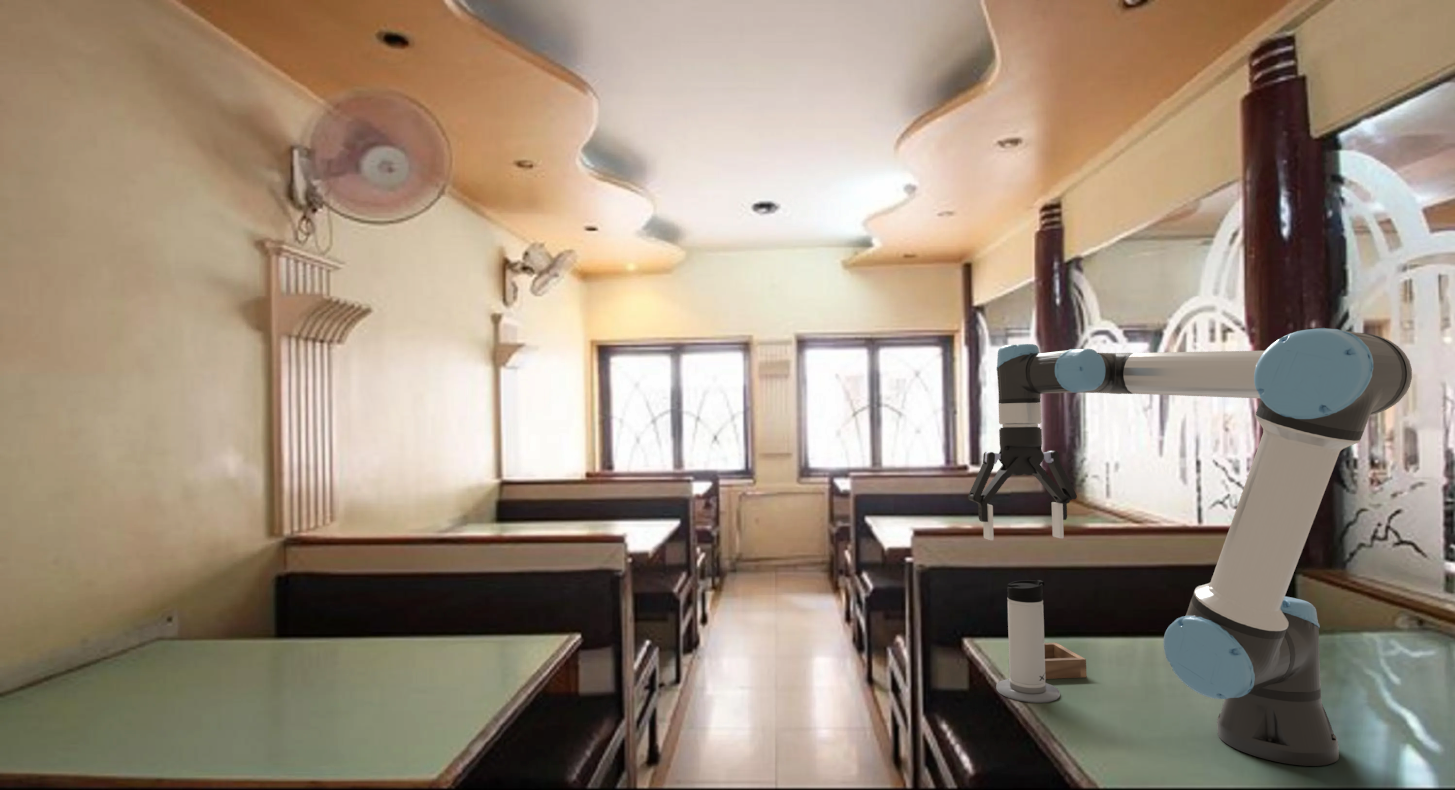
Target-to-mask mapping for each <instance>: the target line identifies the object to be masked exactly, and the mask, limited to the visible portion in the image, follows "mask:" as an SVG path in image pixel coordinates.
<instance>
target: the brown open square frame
mask: <svg viewBox="0 0 1455 790" xmlns="http://www.w3.org/2000/svg"><path fill="white" fill-rule="evenodd" d="M1044 645H1045V678H1046V680H1051V679H1052V680H1053V679H1076V678H1077V679H1078V678H1079V679H1081V678H1088V677H1087V675H1088V673H1087V659H1086V657H1085V658H1084V657H1082V656H1081V655H1079V654H1077V653H1076V652H1073V651H1072V650H1070V649H1068V648H1067V647H1065V646H1063V645H1061V644H1060V643H1058V642H1044Z"/></svg>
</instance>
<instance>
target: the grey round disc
mask: <svg viewBox="0 0 1455 790" xmlns="http://www.w3.org/2000/svg"><path fill="white" fill-rule="evenodd" d="M995 687H996V691H997V693H999V694H1000V695H1001V696H1003V697H1006V698H1008V699H1010V700H1011V699H1012V700H1014V701H1018V702H1024V703H1036V704H1037V703H1039V704H1040V703H1041V704H1042V703H1051V702H1054V701H1057V700H1059V698H1060V694H1061V692H1060V690H1059V688H1057V687H1056V686H1054V685H1052V684H1050V683H1047V682H1046V690H1045V692H1043V693H1040V694H1026V693H1021V692H1017V691H1015V690H1013V689H1012V688H1011V687H1010V678H1006V679H1002V680H999V681H997V683H996V686H995Z"/></svg>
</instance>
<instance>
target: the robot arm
mask: <svg viewBox="0 0 1455 790" xmlns="http://www.w3.org/2000/svg"><path fill="white" fill-rule="evenodd" d="M996 361H997V363H996V364H997V365H996V373H997V374H996V375H997V386H998V387H997V389H998V424H999V425H1002V427H1000V428H999V431H998V433H999V434H998V436H999V438H998V439H999V447H1000V449H999V453H997V452H994V451H985V452H984V453H983V457H982V464H981V467H980V469H979V470H978V473H977V476H976V478H975V480H974V482H973V484H972V486H971V489H970V490H969V493H968V496H967V499H968V500H969V501H972V502H973V503H976V504H977V506H978V512H977V513H978V520H979V522H982V523H983V524H982V525H983V527H982V528H983V539H985V540H987V541H994V540H995V537H994V536H995V535H994V533H995V532H994V506H993V505H992V504H989V503H990V502H991V501H992V499H993V498H994V497H995V496H996V494H997V493H998V492H999V490H1000V489H1001V488H1002V486H1003V485H1004V484H1005V482H1006V481H1007V480H1008V479H1009V478H1010V477H1011V476H1023V475H1024V476H1034V478H1036V479H1037V480H1038V482H1039V483H1040V484H1041V485H1042V486H1043V488H1044V489H1045V490H1046V491H1047V492H1048V493H1049V494H1050V495H1051V497H1052V498H1053V499H1054V500H1055V501H1056V502H1055V501H1052V502H1051V530H1052V537H1053V538H1057V539H1064V538H1065V537H1064V536H1065V535H1064V534H1065V533H1064V531H1065V530H1064V521H1066V520H1067V518H1068V504H1070V503H1071V501H1072V500H1076V499H1077V498H1078V496H1077V493H1076V491H1075V489H1074V487H1073V485H1072V483H1071V481H1070V480H1069V478H1068V476H1067V473H1066V472H1065V470H1064V467H1063V466H1062V464H1061V460H1060V454H1059V451H1057V450H1047V451H1045V452H1043V449H1042V445H1043V434H1042V433H1043V432H1042V431H1043V430H1042V428H1041V427H1039V425H1041V424H1042V404H1041V403H1042V402H1041V401H1042V400H1041V395H1042V394H1043V395H1044V394H1061V393H1062V394H1065V393H1079V394H1088V393H1089V394H1091V393H1092V394H1095V393H1096V394H1111V395H1112V394H1115V395H1122V394H1123V395H1125V394H1126V395H1135V394H1136V395H1158V396H1185V397H1211V398H1234V399H1235V398H1238V399H1239V398H1241V399H1260V400H1259V403H1258V406H1257V409H1256V413H1255V414H1254V417H1255V418H1256V420H1257V421H1258V423H1259V424H1260V426H1261V428H1262V432H1263V433H1262V436H1261V438H1260V440H1259V444H1258V445H1257V448H1256V453H1255V455H1254V458H1253V461H1252V464H1251V465H1250V470H1249V472H1248V475H1247V478H1246V480H1245V483H1244V487H1243V489H1242V492H1241V496H1240V497H1239V501H1238V503H1237V506H1236V509H1235V512H1234V515H1233V517H1232V521H1231V524H1230V526H1229V529H1228V532H1227V534H1226V537H1225V540H1224V542H1223V546H1222V548H1221V551H1220V554H1219V557H1218V560H1217V563H1216V566H1215V568H1214V572H1213V575H1212V576H1211V578H1210V579H1211V580H1210V582H1208V583H1205V584H1202V585H1198V586H1196V587H1195V589H1194V591H1193V594H1192V597H1191V599H1190V602H1189V604H1188V605H1189V606H1188V608H1187V611H1186V614H1185V616H1184V615H1183V616H1180V617H1178V618H1176V619H1175V620H1174V621H1172V623H1171V624H1169V625H1168V627H1167V629H1166V630H1165V632H1164V636H1163V651H1164V655H1165V659H1166V660H1167V662H1168V663H1169V665H1170V667H1171V668H1172V671H1173V673H1174V674H1175V675H1176V677H1177V678H1178V679H1179V680H1180V681H1181V683H1183V684H1184V685H1186V686H1187V687H1188V688H1190V690H1192V691H1194V692H1196V693H1197V694H1200V695H1201V696H1204V697H1207V698H1210V699H1214V700H1223V703H1222V707H1221V711H1220V713H1219V715H1218V717H1217V719H1216V720H1217V721H1216V724H1217V725H1216V726H1217V727H1216V728H1217V729H1216V731H1217V737H1219V738H1220V740H1221V741H1222V742H1223V743H1225V744H1226V745H1228V746H1229V747H1232V748H1233V749H1236V750H1237V751H1240V752H1243V753H1245V754H1248V755H1250V756H1254V757H1256V758H1260V759H1263V760H1267V761H1272V762H1277V763H1282V764H1287V765H1294V766H1304V767H1307V766H1308V767H1309V766H1310V767H1316V766H1317V767H1321V766H1327V765H1331V764H1335V763H1336V762H1337V761H1338V760H1339V757H1340V756H1339V754H1340V753H1339V743H1338V742H1339V741H1338V738H1337V736H1336V735H1335V734H1334V730H1333V728H1332V725H1331V724H1332V723H1331V721H1330V719H1329V717H1328V714H1327V712H1326V710H1325V708H1324V707H1325V706H1324V705H1323V702H1322V689H1321V688H1322V687H1321V686H1322V685H1321V661H1320V660H1321V659H1320V658H1321V657H1320V655H1321V654H1320V638H1319V637H1320V636H1319V635H1320V632H1319V630H1320V623H1319V620H1318V613H1317V609H1316V607H1315V606H1314V605H1313V604H1312V603H1310V602H1309V601H1307V600H1304V599H1300V598H1295V597H1290V596H1286V594H1287V591H1288V589H1289V586H1290V584H1291V581H1292V579H1293V576H1294V572H1295V570H1296V567H1297V565H1298V563H1299V559H1300V557H1301V555H1302V553H1303V549H1304V548H1305V545H1306V542H1307V539H1308V537H1309V533H1310V532H1311V528H1312V526H1313V524H1314V521H1315V519H1316V515H1317V513H1318V510H1319V508H1320V505H1321V502H1322V499H1323V497H1324V494H1325V491H1326V490H1327V487H1328V484H1329V481H1330V478H1331V476H1332V473H1333V471H1334V468H1335V466H1336V463H1337V460H1338V457H1339V456H1340V453H1341V451H1342V450H1344V449H1347V448H1348V447H1352V446H1353V445H1356V444H1358V443H1360V441H1361V439H1362V437H1363V434H1364V431H1365V429H1366V427H1367V424H1368V421H1369V418H1370V416H1372V415H1378V414H1380V413H1382V412H1384V411H1387V410H1388V409H1390V408H1392V407H1394V406H1395V405H1397V403H1399V402H1400V401H1402V399H1403V398H1404V396H1405V395H1406V394H1407V393H1408V390H1409V388H1411V387H1410V386H1411V383H1412V380H1413V369H1412V364H1411V362H1410V359H1409V358H1408V356H1407V354H1406V353H1405V351H1404V350H1402V348H1400V346H1398V345H1397V344H1396V343H1394V342H1393V341H1391V340H1389V339H1387V338H1385V337H1382V336H1381V335H1376V334H1372V333H1368V332H1367V333H1366V332H1356V331H1349V330H1348V331H1347V330H1341V329H1338V328H1325V327H1320V328H1319V327H1318V328H1317V327H1316V328H1312V329H1311V328H1310V329H1302V330H1297V331H1294V332H1291V333H1288V334H1286V335H1284V336H1282V337H1280V338H1278V339H1277V340H1276V341H1274V342H1272V343H1271V344H1270V345H1269V346H1268V347H1267V348H1266V349H1265V350H1225V351H1224V350H1222V351H1215V350H1214V351H1176V352H1175V351H1172V352H1171V351H1169V352H1167V351H1165V352H1162V351H1161V352H1157V351H1156V352H1097V351H1096V350H1095V349H1093V348H1070V349H1068V350H1059V351H1058V350H1057V351H1051V352H1042V353H1041V352H1040V348H1039V346H1038V345H1036V344H1035V343H1034V344H1033V343H1019V344H1007V345H1003V346H1001V347H999V349H998V350H997V360H996ZM1043 460H1044V461H1045V463H1047V465H1048V467H1049V469H1050V471H1051V473H1052V476H1053V478H1054V479H1055V481H1056V483H1057V484H1056V483H1055V481H1054V480H1053V479H1052V478H1051V477H1050V476H1049V475H1048V474H1047V471H1046V470H1045V469H1044V468H1043V466H1041V464H1042V462H1044V461H1043ZM998 461H999V462H1000V463H1001V466H1000V468H999V469H998V470H997V472H996V474H995V476H994V477H993V478H992V480H991V481H990V482H989V483H988V480H989V479H990V477H991V474H992V472H993V470H994V467H995V465H996V464H997V462H998ZM987 484H988V485H987ZM986 485H987V486H986Z"/></svg>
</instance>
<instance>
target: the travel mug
mask: <svg viewBox="0 0 1455 790" xmlns="http://www.w3.org/2000/svg"><path fill="white" fill-rule="evenodd" d="M1043 586H1044V587H1045V582H1044V581H1043V580H1041V579H1036V580H1034V579H1033V580H1032V579H1030V580H1029V579H1028V580H1027V579H1025V580H1015V581H1012V582H1009V583H1007V598H1006V599H1007V626H1008V627H1007V630H1008V631H1007V632H1008V661H1009V662H1008V665H1009V667H1008V668H1009V679H1010V687H1011V688H1012V689H1013V690H1015V691H1017V692H1021V693H1026V694H1040V693H1043V692H1045V690H1046V683H1047V682H1046V680H1047V679H1046V678H1045V645H1044V643H1045V619H1044V618H1045V617H1044V597H1043Z"/></svg>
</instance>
